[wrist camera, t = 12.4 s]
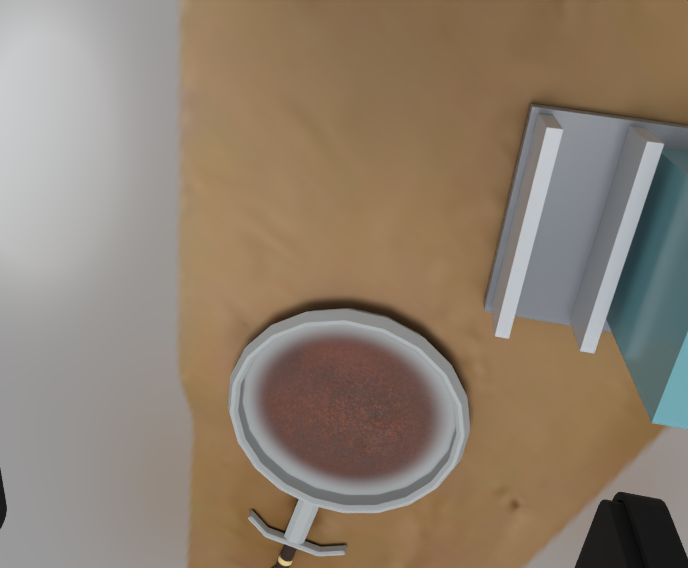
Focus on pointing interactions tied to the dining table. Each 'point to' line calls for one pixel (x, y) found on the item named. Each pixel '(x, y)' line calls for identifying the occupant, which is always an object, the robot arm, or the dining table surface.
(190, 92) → the dining table surface
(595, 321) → the dish rack
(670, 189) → the teal upright slab
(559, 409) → the dining table surface
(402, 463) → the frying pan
